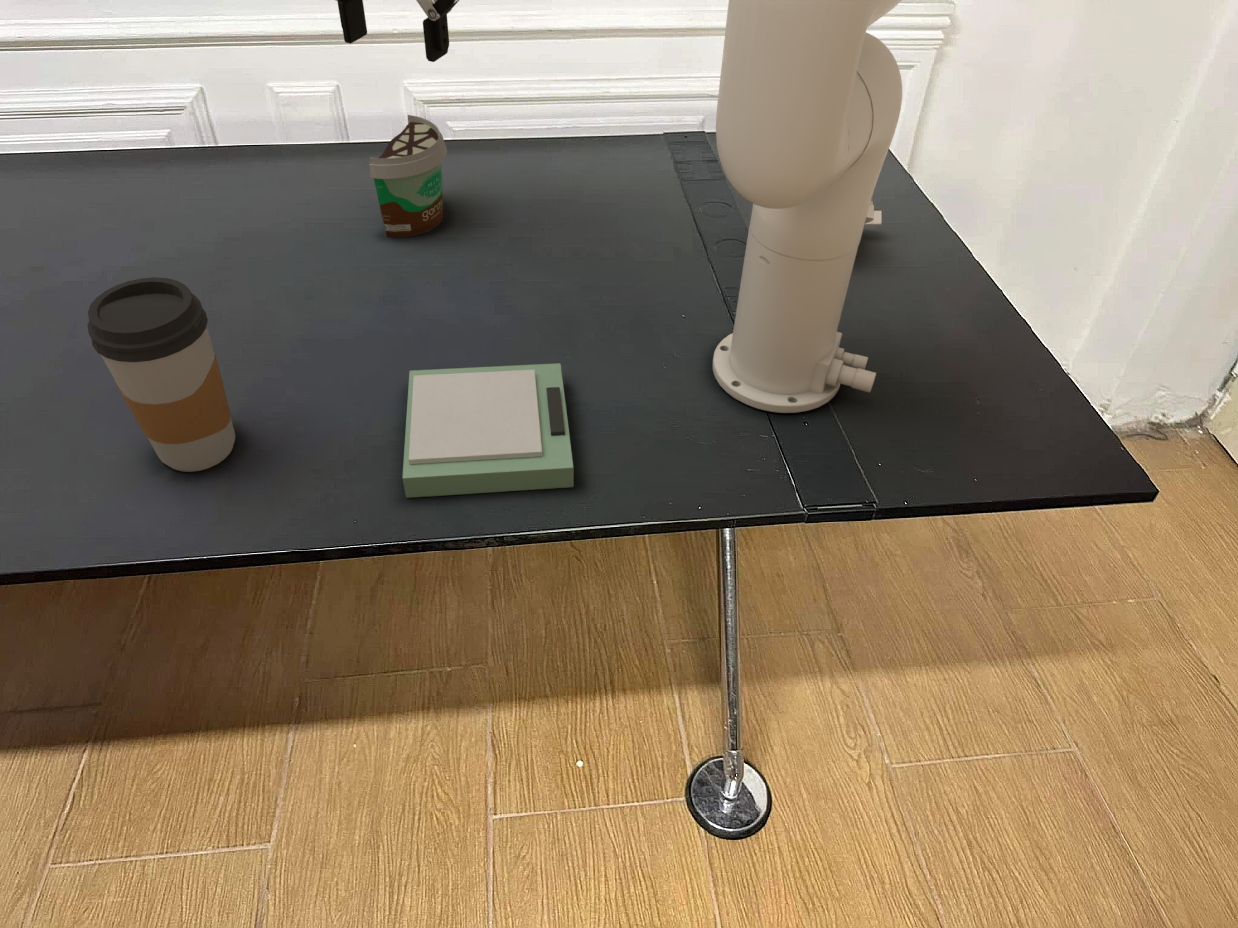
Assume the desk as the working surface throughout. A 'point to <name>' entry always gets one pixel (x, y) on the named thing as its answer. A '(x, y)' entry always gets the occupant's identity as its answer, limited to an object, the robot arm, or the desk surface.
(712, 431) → the desk surface
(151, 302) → the coffee cup
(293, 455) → the desk surface
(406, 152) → the food container
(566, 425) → the kitchen scale
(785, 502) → the desk surface
